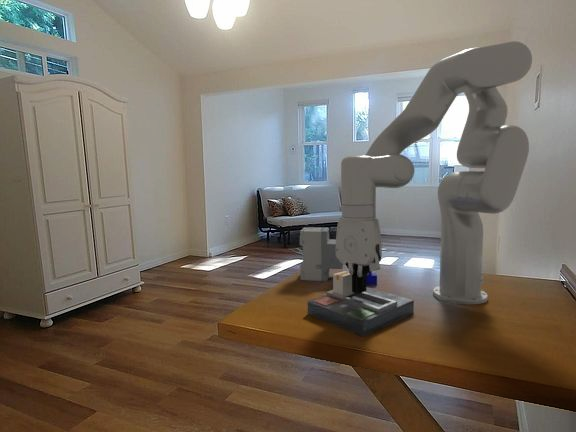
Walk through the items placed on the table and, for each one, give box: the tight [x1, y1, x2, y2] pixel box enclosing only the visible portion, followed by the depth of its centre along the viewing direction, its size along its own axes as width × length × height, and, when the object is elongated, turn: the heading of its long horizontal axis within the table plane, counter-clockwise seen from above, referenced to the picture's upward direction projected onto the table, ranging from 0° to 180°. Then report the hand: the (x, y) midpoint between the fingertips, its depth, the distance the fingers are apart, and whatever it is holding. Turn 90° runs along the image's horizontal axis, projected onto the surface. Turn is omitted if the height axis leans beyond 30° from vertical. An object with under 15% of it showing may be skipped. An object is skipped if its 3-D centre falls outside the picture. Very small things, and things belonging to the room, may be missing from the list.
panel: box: [307, 286, 415, 337], centre depth 83 cm, size 18×16×4 cm
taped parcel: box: [332, 270, 354, 296], centre depth 86 cm, size 4×3×5 cm
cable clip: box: [367, 264, 378, 286], centre depth 110 cm, size 12×4×6 cm, turn 172°
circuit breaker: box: [299, 226, 344, 282], centre depth 112 cm, size 8×14×15 cm, turn 78°
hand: (359, 291), depth 83 cm, fingers closed
